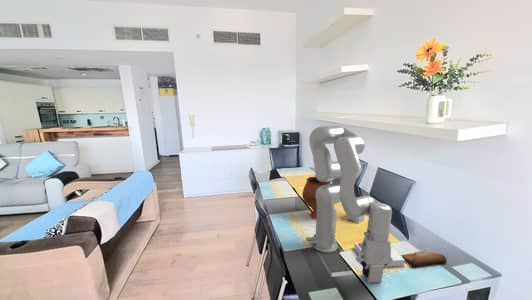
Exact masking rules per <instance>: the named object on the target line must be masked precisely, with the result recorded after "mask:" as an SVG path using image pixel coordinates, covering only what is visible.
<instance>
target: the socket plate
mask: <svg viewBox="0 0 532 300" xmlns="http://www.w3.org/2000/svg"><path fill="white" fill-rule="evenodd" d="M362 243H363V241H362V242H360V241H359V242H354V244H353V245H354V246H353V248H354V250H355V252H356V253H357V254H358V256H359V255H360V253H361V248H362ZM391 258H392V259H393V260H392V261H391V262H390V263H388V265H386V266H385V268H393V267H392V266H398V267H405V263H406V262H405V260H404V259H403V258H402V257H401V255H400V254H399V253H398V252H397V251H396V250H395V249H394V248H393V247H392V246H391ZM363 259H364V258H363ZM363 259H362V260H363Z"/></svg>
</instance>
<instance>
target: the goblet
mask: <svg viewBox="0 0 532 300" xmlns="http://www.w3.org/2000/svg"><path fill="white" fill-rule="evenodd" d="M328 184H331V181H329V182H320V181H318V180H317V178H316V176H310V177H307V178H306V183H305V185H304V187H303V190H302V198H303V202H304V203H305V204H306V205H307V206H308V207H310V208H311V209H312V212H311V213H310V214H309V217H310V218H312V219H313V220H316V217H317V203H316V191H317V189H318V188H319V187H321V186H324V185H328Z"/></svg>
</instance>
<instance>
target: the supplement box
mask: <svg viewBox="0 0 532 300" xmlns="http://www.w3.org/2000/svg"><path fill="white" fill-rule="evenodd" d="M349 219H350V220H349ZM347 220H349V221H351V220H352V222H353V221H355V222H354V223H356V222H357V223H356V224H360V223H361V222H363V221H365V216H363V217H360V218H350V217H349V216H348V215H347ZM362 220H363V221H362ZM359 222H360V223H359Z"/></svg>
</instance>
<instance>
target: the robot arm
mask: <svg viewBox="0 0 532 300" xmlns="http://www.w3.org/2000/svg"><path fill="white" fill-rule="evenodd" d="M308 143H309V147H310V151H311V153H312V160H313V161H312V162H313V167H314V174H315V177H316V178H317V180H318V181H320V182H329V181H330V182H331V183H330V184H328V185H324V186H321V187H319V188H318V189H317V191H316V203H317V217H316V219H315V233H314V234H313V236H307V237H305V241H306V242H309V244H311V245H312V247H313V248H314V249H315V250H317V251H319V252H321V253H324V254H325V253H326V254H327V253H328V254H329V253H334V252H336V251H337V250H338V246H339V245H338V243H337V241H336V231H337V229H336V227H337V215H338V214H337V210H336V207H335V205H336V204H339V203H341V206H342V209H343V211H344V213H345V214H346V215H347V217H348V216H349V217H350V218H360V217H363V216H364V217H366V216H368V221H367V227H366V231H364V232H363V235H364V238H363V241H362V242H363V243H362V248H361V253H360V255H359V254H358V255H357V256H356V258H355V260H356V261H357V263H359V264H360V265H361V266H362V275H363V276H364V277H365V278H368V275H369V269H368V267H369V265H374V264H384V266H383V270H385V269H386V267H385V266H386V265H388V263H390V262H391V261H392V260H393V259H392V258H391V247H392V245H391V239H390V238H389V237H390V236H389V235H390V228H391V223H392V222H391V221H392V216H393V215H392V214H393V210H392V207H391V206H390V205H389V204H387V203H383V202H380V201H378V200H377V199H375V198H374V197H372V196H370V195H362V196H357V197H356V194H355V182H356V180H357V179H358V178H359V177H360V175H361V174H362V172H363V167H362V164H361V161H360V157H359V155H360V154H361V153H363V152H364V150H365V142H364V140H363V139H362V138H361V136H359V135H358V134H356V133H354V132H352V131H351V130H349V129H348V128H345V127H344V126H339V125H324V126H323V125H322V126H318V127H315V128H314V129H313V130H312V131H311V133H310V134H309V138H308ZM331 144H333V149H334V152H335V153H334V154H335V155H336V159H337V161H333V160H332V156H331V152H330V150H329V148H328V147H327V146H326V145H331ZM363 258H364V259H363ZM383 274H384V272H383V273H382V275H383Z"/></svg>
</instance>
